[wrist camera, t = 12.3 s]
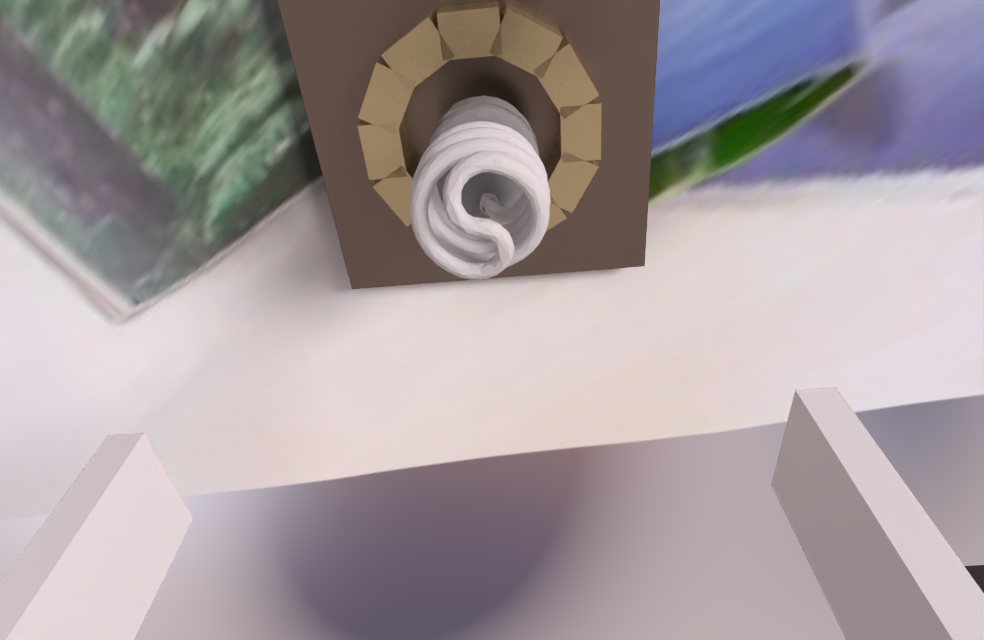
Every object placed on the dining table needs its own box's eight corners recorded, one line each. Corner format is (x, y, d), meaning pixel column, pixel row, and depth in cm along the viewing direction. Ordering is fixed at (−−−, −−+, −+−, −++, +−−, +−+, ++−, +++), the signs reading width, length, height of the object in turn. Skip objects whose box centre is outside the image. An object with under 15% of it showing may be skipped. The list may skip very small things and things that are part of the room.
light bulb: (550, 163, 33) (574, 272, 23) (454, 196, 34) (438, 314, 24) (516, 59, 30) (527, 132, 20) (413, 99, 31) (374, 187, 21)
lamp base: (274, -52, 28) (249, -47, 26) (657, -93, 28) (677, -94, 25) (356, 276, 39) (345, 306, 36) (639, 254, 38) (651, 282, 35)
